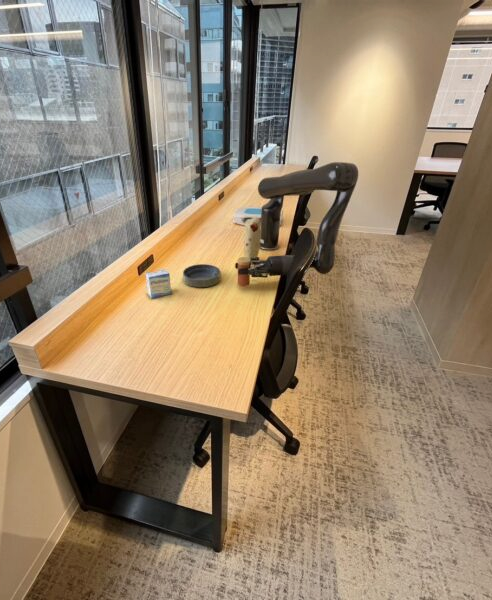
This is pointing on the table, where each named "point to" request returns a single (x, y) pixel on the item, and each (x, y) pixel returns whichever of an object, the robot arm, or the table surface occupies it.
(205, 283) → the bowl
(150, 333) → the table surface
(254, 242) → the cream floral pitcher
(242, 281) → the pill bottle
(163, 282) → the medicine box
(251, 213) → the document scanner
